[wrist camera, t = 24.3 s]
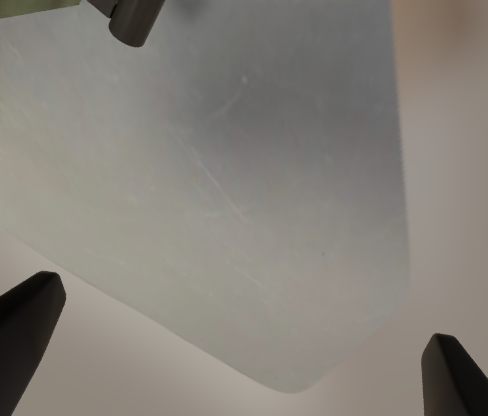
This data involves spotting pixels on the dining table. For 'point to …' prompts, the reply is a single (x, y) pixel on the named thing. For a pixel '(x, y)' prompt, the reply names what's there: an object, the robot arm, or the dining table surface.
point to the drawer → (110, 4)
